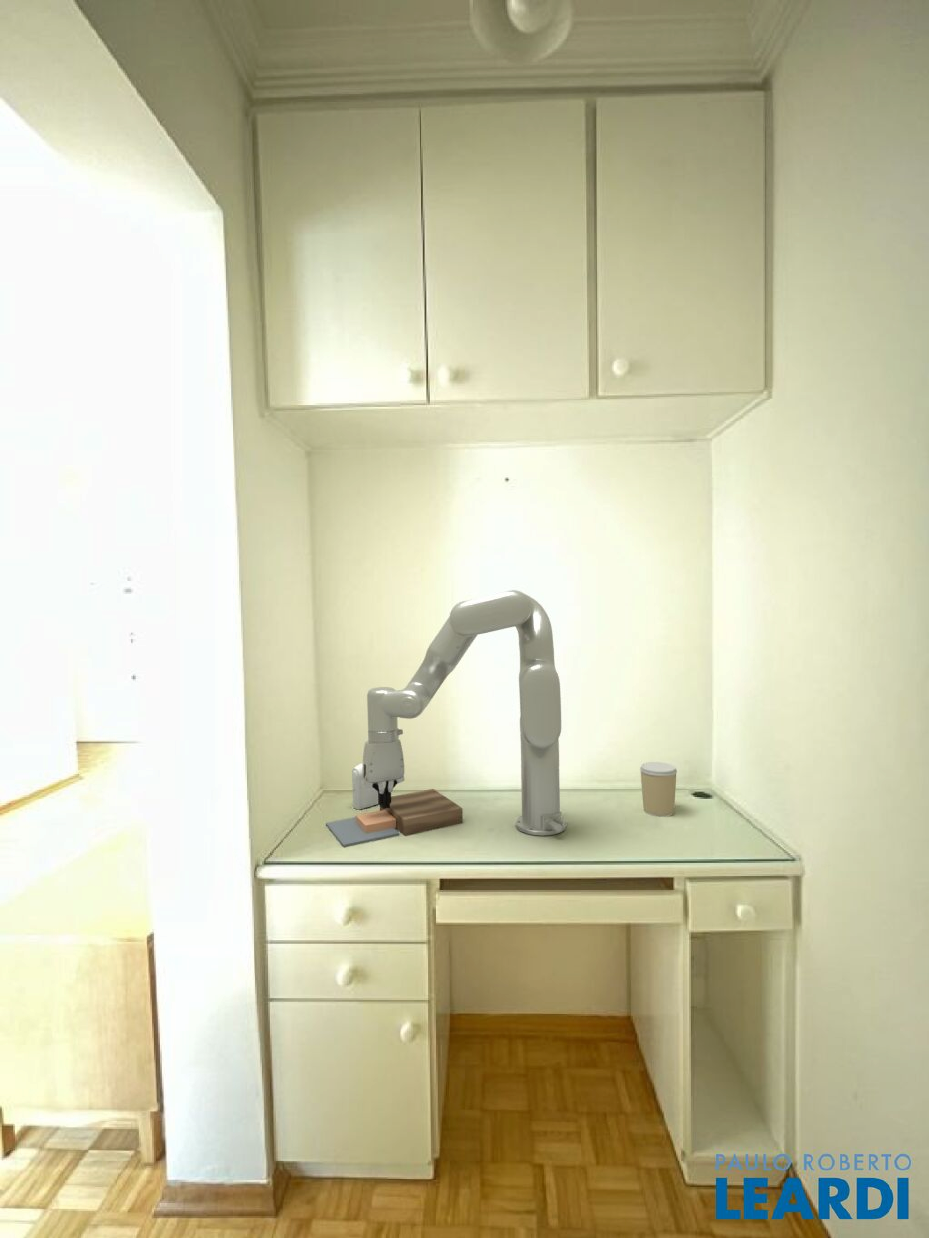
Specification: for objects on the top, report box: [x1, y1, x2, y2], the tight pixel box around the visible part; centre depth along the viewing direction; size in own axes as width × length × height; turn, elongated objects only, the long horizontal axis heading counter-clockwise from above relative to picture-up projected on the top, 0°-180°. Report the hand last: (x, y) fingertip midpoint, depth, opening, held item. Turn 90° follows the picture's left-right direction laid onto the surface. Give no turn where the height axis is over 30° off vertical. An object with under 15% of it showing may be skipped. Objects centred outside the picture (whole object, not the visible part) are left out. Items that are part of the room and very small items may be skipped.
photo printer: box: [351, 762, 385, 810], centre depth 171 cm, size 10×4×12 cm, turn 133°
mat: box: [325, 816, 400, 848], centre depth 152 cm, size 16×14×1 cm
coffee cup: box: [639, 761, 678, 817], centre depth 161 cm, size 9×9×12 cm
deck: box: [379, 788, 464, 837], centre depth 159 cm, size 18×16×4 cm
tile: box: [355, 810, 396, 833], centre depth 154 cm, size 8×8×2 cm
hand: (384, 806), depth 155 cm, fingers closed
